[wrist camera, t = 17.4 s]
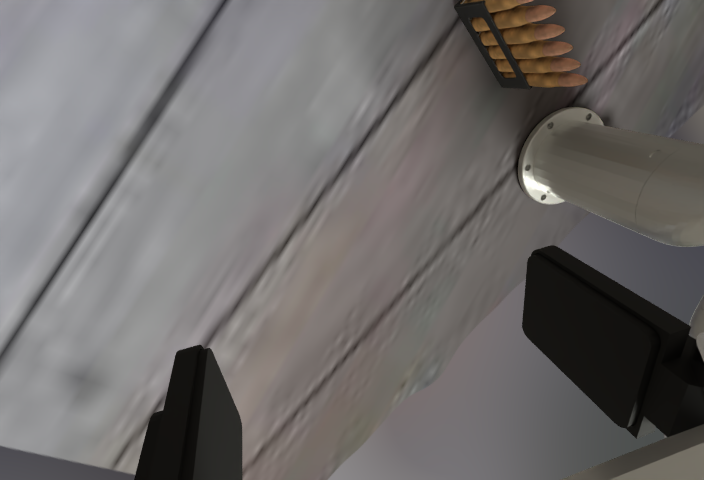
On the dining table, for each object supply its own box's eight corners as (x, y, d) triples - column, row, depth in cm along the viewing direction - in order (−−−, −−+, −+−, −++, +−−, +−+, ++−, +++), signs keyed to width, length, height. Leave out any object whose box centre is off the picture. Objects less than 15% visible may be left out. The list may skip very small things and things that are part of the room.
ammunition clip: (514, 76, 44) (599, 81, 33) (502, 87, 44) (583, 97, 34) (467, -7, 39) (550, -31, 28) (453, 6, 39) (531, -12, 29)
